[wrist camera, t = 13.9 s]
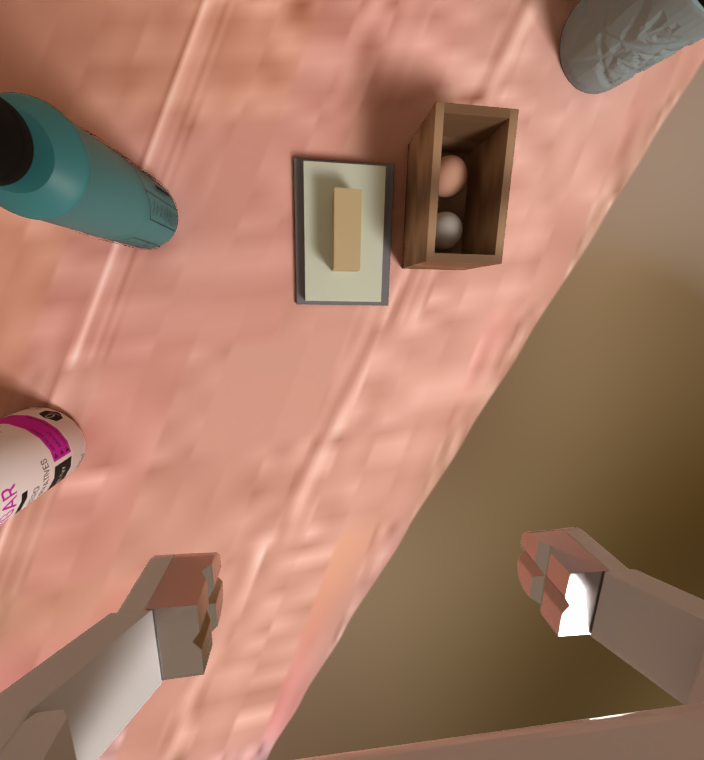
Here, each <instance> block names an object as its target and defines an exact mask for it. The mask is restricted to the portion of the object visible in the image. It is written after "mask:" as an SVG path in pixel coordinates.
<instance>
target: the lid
mask: <svg viewBox="0 0 704 760" xmlns="http://www.w3.org/2000/svg"><path fill="white" fill-rule="evenodd" d="M385 177H386V166H376V165H361V164H346V163H330V162H315V161H304V234H305V301H350V302H381V287H382V260H383V232H384V204H385Z"/></svg>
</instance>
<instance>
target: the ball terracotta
mask: <svg viewBox="0 0 704 760" xmlns="http://www.w3.org/2000/svg"><path fill="white" fill-rule="evenodd" d="M466 179H467V167H466V165H465V163H464V161H463V160H462V159H461V158H459V157H458V156H455V155H447V156H444V157H442V158H441V165H440V180H439V194H438V196H440V197H451V196H454V195H456V194H457V193H458V192H459V191H460V190H461V189H462V188H463V187H464V185H465V183H466Z"/></svg>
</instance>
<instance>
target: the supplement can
mask: <svg viewBox="0 0 704 760" xmlns="http://www.w3.org/2000/svg"><path fill="white" fill-rule="evenodd" d="M85 453H86V442H85V439H84V436H83V433H82V431H81V430H80V428H79V427H78V426H77V425H76V423H75V422H74V421H73V420H72V419H70V418H69V417H67V416H66V415H64V414H63V413H61V412H58V411H55V410H52V409H49V408H35V407H31V408H28V409H24V410H21V411H18V412H15V413H13V414H10V415H8V416H5V417H3V418H0V525H2V524H3V523H4V522H6V521H7V520H8V519H10V518H11V517H12V516H14V515H15V514H16V513H18V512H19V511H20V510H22V509H23V508H25V507H26V506H27V505H29V504H30V503H31V502H33V501H34V500H35V499H37V498H38V497H39V496H41V495H42V494H43V493H45V492H46V491H47V490H49V489H50V488H51V487H53V486H54V485H55V484H57V483H58V482H60V481H61V480H62V479H64V478H65V477H66V476H68V475H69V474H70V473H72V472H73V471H74V470H75V469H77V468H78V467H79V466H80V465H81V463H82V461H83V459H84V457H85Z"/></svg>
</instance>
